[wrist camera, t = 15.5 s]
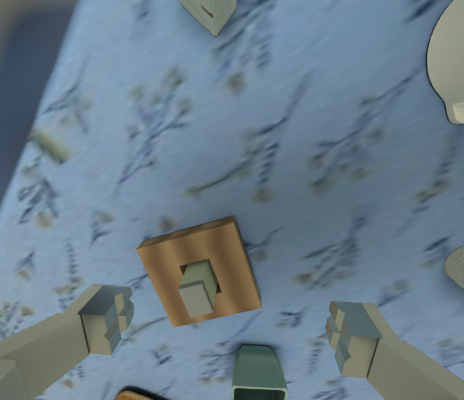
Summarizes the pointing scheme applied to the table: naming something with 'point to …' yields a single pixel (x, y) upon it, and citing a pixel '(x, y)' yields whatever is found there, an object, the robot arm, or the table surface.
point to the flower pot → (258, 375)
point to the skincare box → (211, 12)
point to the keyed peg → (199, 288)
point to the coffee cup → (456, 266)
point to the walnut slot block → (196, 249)
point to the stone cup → (131, 396)
